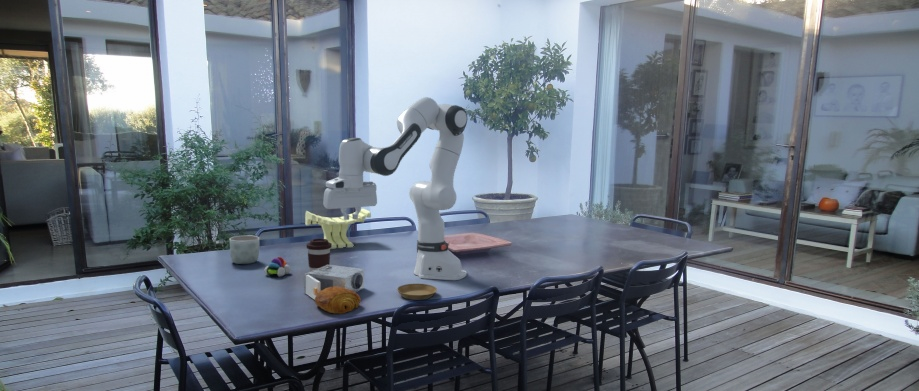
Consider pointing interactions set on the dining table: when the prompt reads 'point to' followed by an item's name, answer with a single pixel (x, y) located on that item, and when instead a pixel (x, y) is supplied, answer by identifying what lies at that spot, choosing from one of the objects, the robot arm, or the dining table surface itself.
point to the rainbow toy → (277, 267)
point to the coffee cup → (318, 253)
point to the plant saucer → (417, 291)
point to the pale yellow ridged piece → (336, 227)
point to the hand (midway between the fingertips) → (350, 219)
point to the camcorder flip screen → (311, 286)
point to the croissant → (337, 300)
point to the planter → (244, 249)
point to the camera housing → (339, 277)
